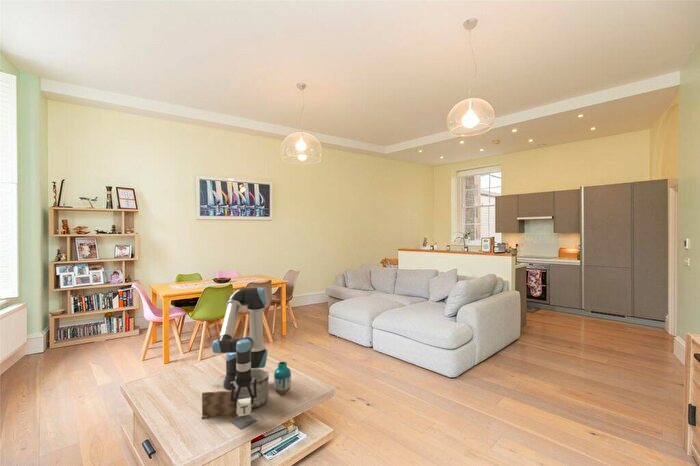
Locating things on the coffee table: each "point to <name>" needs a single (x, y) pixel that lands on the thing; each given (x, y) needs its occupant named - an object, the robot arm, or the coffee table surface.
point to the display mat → (243, 421)
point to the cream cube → (243, 407)
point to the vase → (282, 378)
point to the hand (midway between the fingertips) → (243, 411)
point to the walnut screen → (218, 404)
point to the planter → (261, 387)
